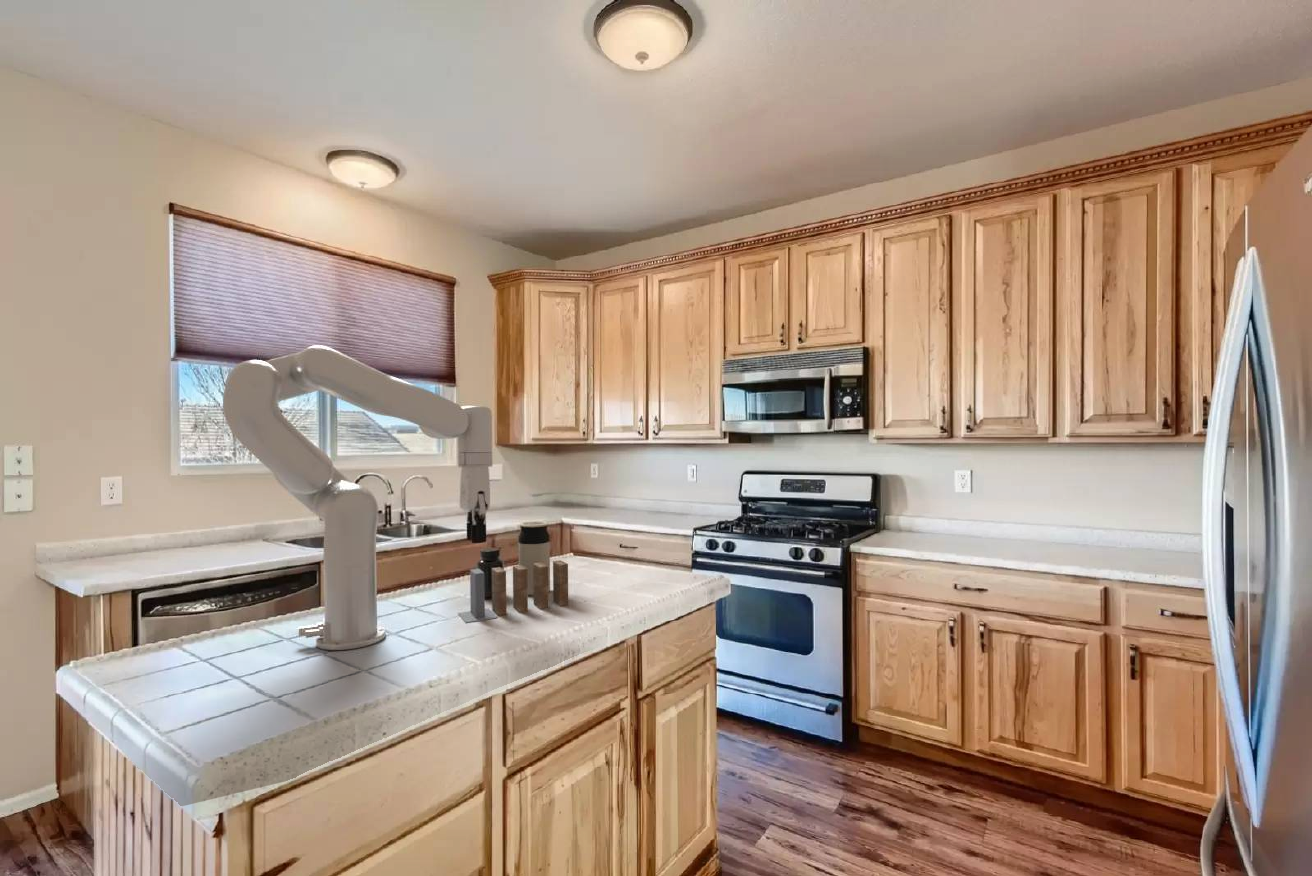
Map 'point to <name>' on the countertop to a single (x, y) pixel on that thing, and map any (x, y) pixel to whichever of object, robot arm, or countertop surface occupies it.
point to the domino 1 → (477, 593)
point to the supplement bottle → (489, 567)
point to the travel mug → (534, 548)
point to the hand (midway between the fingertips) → (476, 540)
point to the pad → (470, 618)
